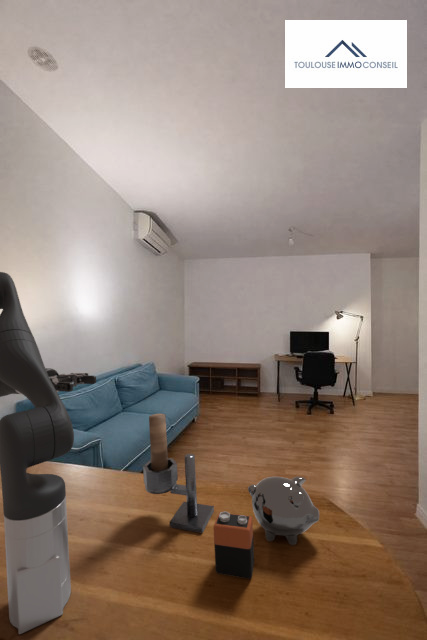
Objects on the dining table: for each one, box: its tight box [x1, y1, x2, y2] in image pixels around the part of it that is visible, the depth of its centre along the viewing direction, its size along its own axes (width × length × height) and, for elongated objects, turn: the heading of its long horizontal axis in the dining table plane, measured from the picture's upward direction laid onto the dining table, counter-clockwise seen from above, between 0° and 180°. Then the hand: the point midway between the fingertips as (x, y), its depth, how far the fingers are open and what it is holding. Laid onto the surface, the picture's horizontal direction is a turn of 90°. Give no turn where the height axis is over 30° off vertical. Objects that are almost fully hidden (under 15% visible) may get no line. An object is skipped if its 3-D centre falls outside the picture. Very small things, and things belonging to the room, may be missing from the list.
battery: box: [213, 511, 255, 580], centre depth 58 cm, size 4×7×10 cm, turn 75°
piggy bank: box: [247, 476, 320, 546], centre depth 66 cm, size 11×15×12 cm
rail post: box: [148, 413, 169, 472], centre depth 75 cm, size 4×4×16 cm
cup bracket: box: [142, 453, 215, 534], centre depth 74 cm, size 16×8×15 cm, turn 71°
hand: (84, 383), depth 80 cm, fingers open, 8 cm apart
